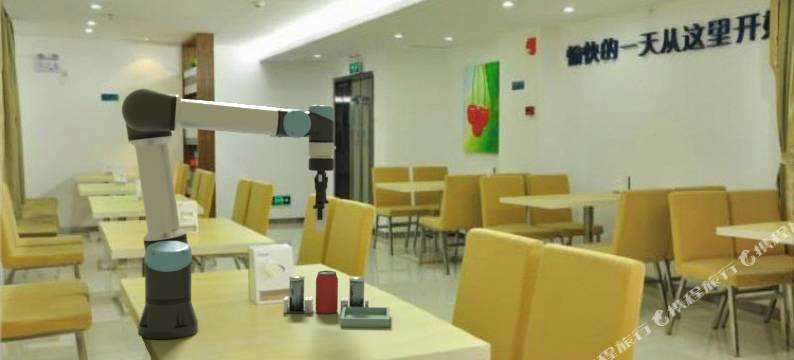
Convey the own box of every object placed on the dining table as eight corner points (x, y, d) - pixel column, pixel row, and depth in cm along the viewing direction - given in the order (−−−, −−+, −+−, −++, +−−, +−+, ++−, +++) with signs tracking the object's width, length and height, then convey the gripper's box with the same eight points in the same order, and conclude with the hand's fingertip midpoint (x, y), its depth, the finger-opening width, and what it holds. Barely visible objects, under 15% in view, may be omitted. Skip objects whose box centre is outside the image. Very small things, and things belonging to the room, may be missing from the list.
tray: (389, 327, 195) (389, 319, 195) (340, 326, 195) (340, 318, 195) (389, 315, 209) (389, 307, 208) (343, 314, 208) (343, 306, 208)
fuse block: (368, 314, 209) (368, 279, 208) (283, 313, 209) (283, 278, 208) (368, 310, 214) (369, 276, 214) (285, 309, 214) (286, 275, 213)
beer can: (333, 315, 208) (334, 275, 207) (312, 313, 209) (313, 273, 208) (340, 309, 214) (340, 270, 213) (319, 308, 215) (319, 269, 215)
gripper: (332, 158, 198) (332, 233, 199) (334, 156, 222) (334, 222, 224) (305, 158, 197) (305, 233, 198) (311, 156, 222) (310, 222, 223)
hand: (320, 228), depth 211 cm, fingers open, 13 cm apart
